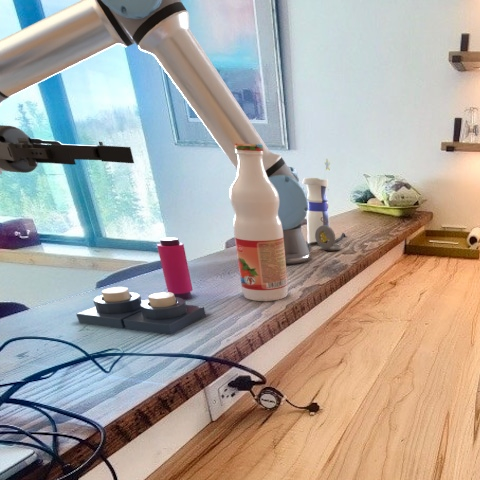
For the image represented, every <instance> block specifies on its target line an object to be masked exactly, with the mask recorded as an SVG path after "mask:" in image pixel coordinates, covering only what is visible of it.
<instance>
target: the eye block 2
mask: <svg viewBox="0 0 480 480" xmlns="http://www.w3.org/2000/svg"><path fill="white" fill-rule="evenodd" d="M145 300H146V301H144V302H142V303H141V305H140V308H141V312H139V313H137V314H135V315H132V316H130V317H128V318H126V319H123V321H124V324H125V330H131V331H138V332H139V331H141V332H148V333H155V334H165V335H173V334H175V333H177V332H178V331H180V330H182V329H184V328H185V327H187V326H189V325H191V324H193V323H194V322H197V321H198V320H200V319H202V318H204V317H206V310H205V306H200V305H193V304H192V305H191V304H187V301H186V300H184V299H182V298H178V297H175V300H176V304H174V305H171V306H167V307H151V306H150V302H149V299H145Z"/></svg>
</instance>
